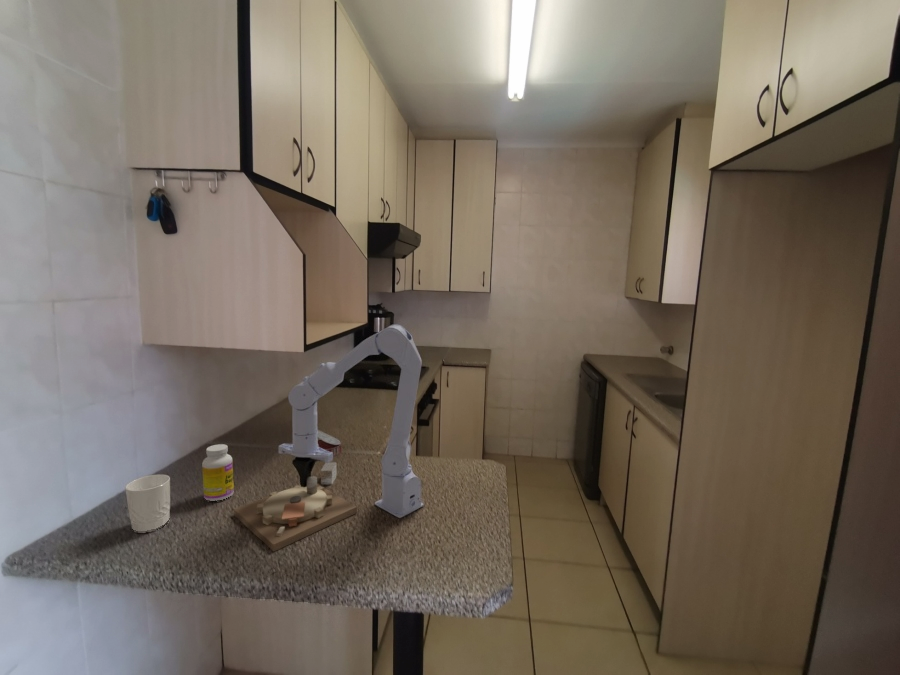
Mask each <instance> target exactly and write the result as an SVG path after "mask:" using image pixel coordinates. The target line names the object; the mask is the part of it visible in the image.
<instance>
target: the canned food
mask: <svg viewBox="0 0 900 675" xmlns="http://www.w3.org/2000/svg"><path fill="white" fill-rule="evenodd" d="M318 445H319V447H320V448H322V449H324V450H326V451H329V452H333V458H335V457H338V456H339V455H341V454H342V442H341V441H340V440H339V439H338V438H337V437H334V436H333V435H329V434H328V433H325V432H323V431H322V430H319V429H318Z"/></svg>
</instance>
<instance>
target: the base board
mask: <svg viewBox="0 0 900 675" xmlns="http://www.w3.org/2000/svg"><path fill="white" fill-rule="evenodd" d="M319 486H321V487H323V485H321V484H320V483H317V487H319ZM294 487H295V486H294ZM294 487H292V488H294ZM306 487H307V486H306ZM324 492H325V493H326V495H327V496H328V495H332V504H330V505H327V506H326V508H325V509H324V515H323V516H321V517H320V518H317V517H313V518H311V519H308V520H305V521H302V522H297V526H291V527H289V524H279V523H273V522H272V523H271V524H269V525H266V524H264V523H263V513H259V514H257V505H258V504H262V503H264V502H265V501H266V500H267V499H268V498H269V496H265V497H263V498H260V499H257V500H255V501H252V502H250V503H249V502H248V503H247V504H245V505H241V506H239V507H235V508H233V516H234V517H235V518H236V519H237V520H239V521H240V522H241V523H242V524H243V525H244V526H245V527H246V528H247V529H248V530H250V531H251V532H252V534H254V535H255V536H256V537H257V538H258V539H260V540H261V542H263V543H264V545H265V546H267V547H268V548H269V549H270V550H271V551H272V552H277V551H278V550H281V549H283V548H284V547H287V546H289V545H291V544H293V543H296V542H298V541H300V540H302V539H304V538H306V537H308V536H310V535H312V534H315V533H316V532H318V531H321V530H323V529H325V528H328V527H330V526H332V525H334V524H337V523H338V522H340V521H343V520H345V519H347V518H348V517H349V518H350V517H351V516H353V515H355V514H357V513H358V507H357V506H356V505H355V504H354V503H352V502H350V501H348V500H346V499H344V498H343V497H341V496H340V495H338V494H336V493H334V492H332V491H331V490H329V489H327V488H326V487H324Z"/></svg>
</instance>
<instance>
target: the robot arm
mask: <svg viewBox="0 0 900 675" xmlns="http://www.w3.org/2000/svg"><path fill="white" fill-rule="evenodd" d="M381 353H383V354H384V355H386V356H388V357H389V358H390V359H391V358H392V359H393V360H394V362H395V363H396V365H398V366H399V368H400V369H401V370H400V376H399V381H398V387H397V395H396V401H395V405H394V406H395V407H394V411H393V417H392V424H391V430H390V435H389V439H388V442H387V445H386V448H385V451H384V454H383V455H382V457H381V461H380V465H381V490H382V491H381V493H382V495H381V496H382V497H381V499H379V500H377V501H374V505H375V506H377V507H378V508H380V509H382V510H384V511H386V512H387V513H389V514H390V515H393V516H395V517H396V518H399V519H402V518H403V517H405V516H407V515H409V514H411V513H413V512H415V511H416V510H418V509H420V508H422V507H424V503H423V502H422V481H421V479H420V477H418V476H417V475H415V473H414V472H413V468H412V467H413V466H412V465H411V463H410V461H409V460H410V456H411V453H412V446H411V442H410V438H411V430H412V423H413V417H414V411H415V405H416V400H417V395H418V394H417V393H418V390H419V389H418V387H419V381H420V375H421V370H422V365H423V364H422V362H423V360H422V358H421V355H420V353H419V350H418V348H417V346H416V344H415V341H414V339H413V336H412V334H411V333H410V332H409V331H408V330H407V329H406V328H405V327H404V326H403V325H400V324H390V325H388V326H387V327H385V328H384V329H382V330H380V331H378V332H376V333H374V334H373V335H370V336H369V337H367V338H366V339H364V340H362V341H361V342H360V343H359V344H357V345H356V346H355V347H353V349H351V350H350V351H349V352H348V353H346V354H345V355H344V356H343V357H342V358H340V360H338V361H337V362H333V361H332V362H331V361H327V362H326V363H325V362H323V363H320V364H319V365H318V366H317V368H318V369H317V370H315V371H314V372H312V373H311V374H309V376H304V377H303V378H302V382H299V384H297V385H294V386H293V388H292V389H291V390H290V391H289V393H288V396H287V397H288V402H289V404H290V406H291V408H292V412H291V413H292V416H291V418H292V420H291V421H292V424H291V425H292V443H282V444H280V445H278V454H281V455H282V454H286V455H287V454H288V455H292V456H293V457H295V458H294V459H292V461H291V462H292V463H291V464H292V465H293V466H294V468H295V469H296V471H297V473H298V475H299V485H301V487H306V486H307V478H308V477H311V476H312V471H313V469H314V466H315V465H316V463H317V460H318V461H322V462H324V464H325V463H329V462H333V460H334V457H333V452H329V451H326V450H324V449H322V448H320V447H319V445H318V440H319V438H318V430H319V429H318V400H319V399H320V398H322V397H323V396H325V395H326V394H327V393H329V392H330V391H332V390H333V389H334V388H336V387H337V386H338V385H340V384H341V383H342V382H343V381H344V376H345V373H346V372H347V371H349V370H350V369H352V368H353V367H354V366H355V365H357V364H359V363H360V362H362V360H364V359H365V358H367V357H368V356H373V355H374V356H375V355H377V356H378V355H380V354H381Z"/></svg>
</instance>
